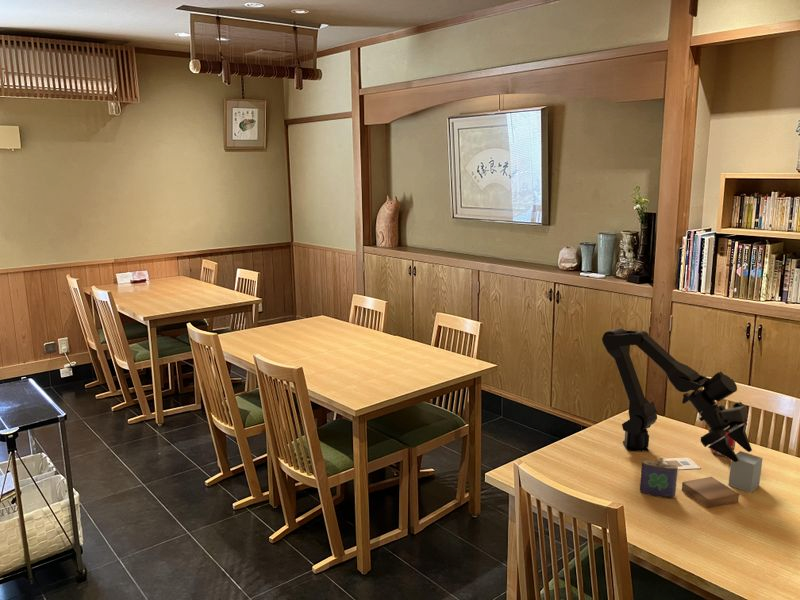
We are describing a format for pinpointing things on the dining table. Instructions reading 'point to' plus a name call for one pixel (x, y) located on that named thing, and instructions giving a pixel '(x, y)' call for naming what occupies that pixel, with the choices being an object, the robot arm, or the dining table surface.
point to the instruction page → (681, 463)
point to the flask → (658, 479)
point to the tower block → (745, 472)
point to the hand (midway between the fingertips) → (744, 456)
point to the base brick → (710, 492)
